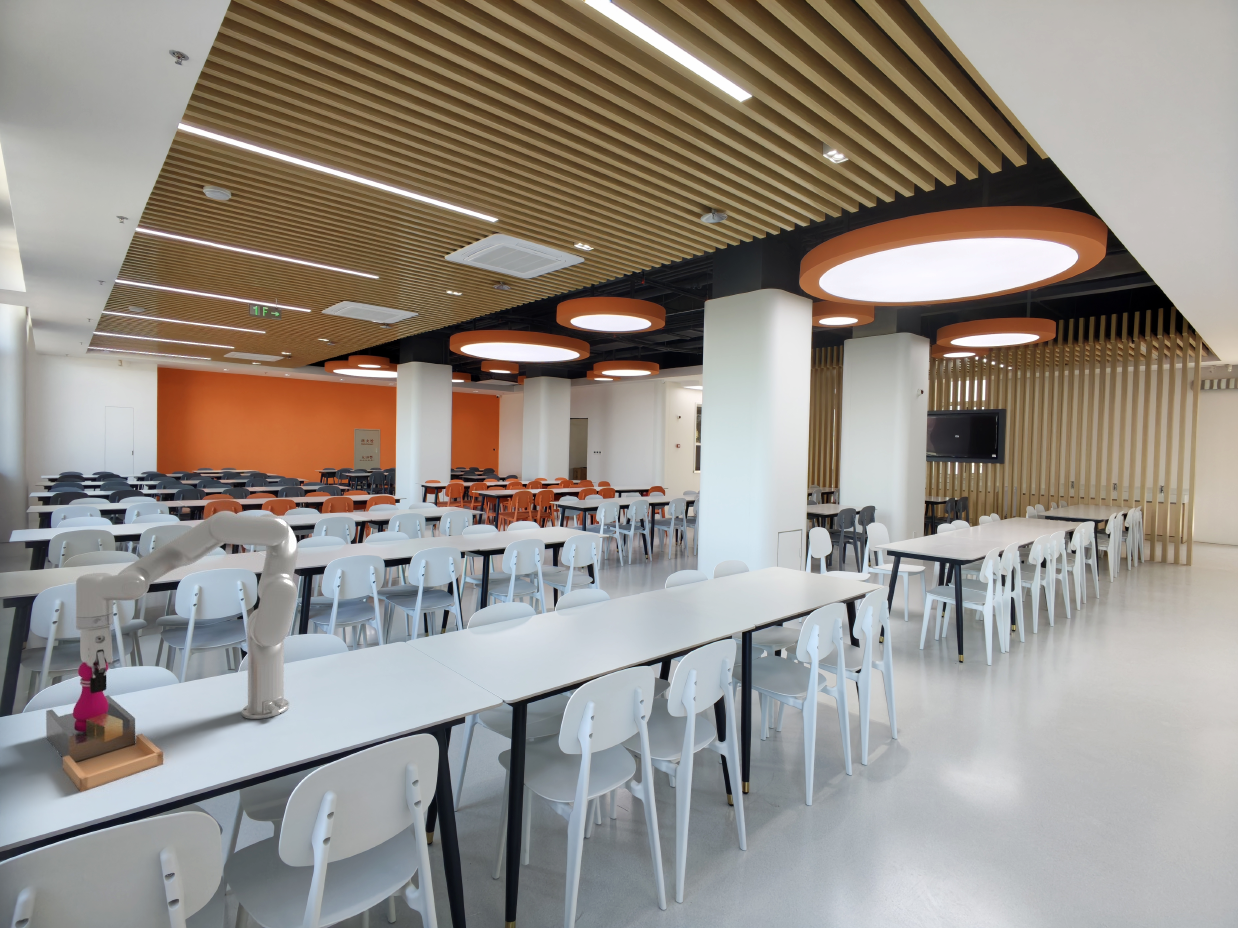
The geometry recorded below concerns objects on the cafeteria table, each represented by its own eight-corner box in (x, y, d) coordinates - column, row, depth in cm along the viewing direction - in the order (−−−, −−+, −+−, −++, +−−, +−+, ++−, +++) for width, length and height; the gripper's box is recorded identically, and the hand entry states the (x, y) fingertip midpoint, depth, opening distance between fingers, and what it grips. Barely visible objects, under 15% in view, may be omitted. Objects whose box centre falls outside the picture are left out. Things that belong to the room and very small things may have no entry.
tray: (163, 763, 155) (163, 752, 154) (80, 791, 142) (80, 779, 142) (141, 744, 164) (141, 733, 164) (62, 768, 151) (62, 756, 151)
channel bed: (135, 745, 164) (135, 718, 163) (69, 766, 153) (69, 736, 153) (108, 720, 178) (108, 695, 178) (46, 737, 167) (46, 710, 167)
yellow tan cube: (113, 731, 161) (113, 716, 161) (95, 738, 157) (95, 723, 157) (104, 727, 162) (104, 713, 162) (86, 734, 159) (86, 719, 158)
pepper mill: (86, 735, 158) (90, 662, 156) (64, 728, 160) (68, 655, 158) (114, 722, 165) (119, 651, 163) (93, 715, 167) (97, 646, 165)
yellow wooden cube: (122, 734, 159) (122, 720, 159) (104, 741, 156) (104, 726, 155) (113, 731, 161) (113, 716, 161) (95, 737, 157) (95, 722, 157)
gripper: (122, 623, 159) (122, 692, 159) (103, 612, 169) (103, 676, 170) (85, 630, 153) (84, 701, 153) (68, 617, 163) (68, 684, 164)
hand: (94, 687), depth 161 cm, fingers closed on pepper mill, 5 cm apart
